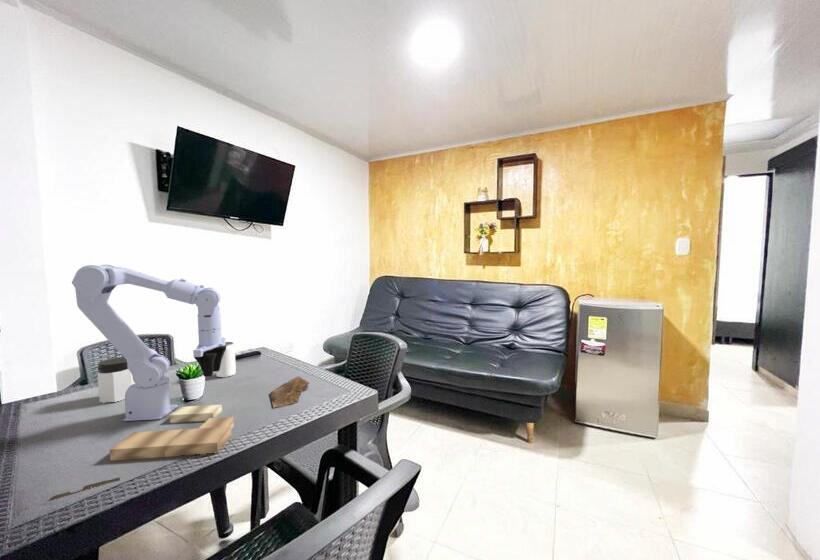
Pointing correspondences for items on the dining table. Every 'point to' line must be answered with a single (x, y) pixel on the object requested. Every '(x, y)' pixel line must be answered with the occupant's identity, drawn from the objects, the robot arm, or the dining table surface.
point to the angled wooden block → (175, 441)
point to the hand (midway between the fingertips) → (211, 373)
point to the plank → (195, 413)
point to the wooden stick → (85, 488)
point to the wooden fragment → (288, 392)
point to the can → (227, 362)
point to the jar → (113, 379)
